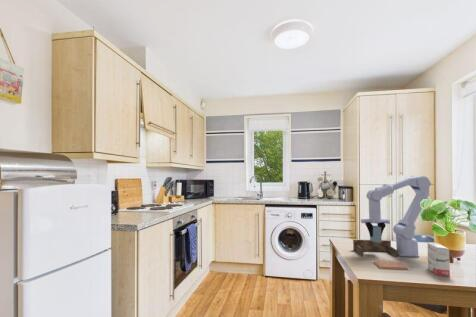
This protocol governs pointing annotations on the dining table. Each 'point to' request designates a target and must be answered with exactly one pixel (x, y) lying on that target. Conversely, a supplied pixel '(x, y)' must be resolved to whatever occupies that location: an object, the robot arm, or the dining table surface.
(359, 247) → the wooden u-shaped rack
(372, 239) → the block
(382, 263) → the tile
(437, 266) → the ink box
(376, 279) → the dining table surface
